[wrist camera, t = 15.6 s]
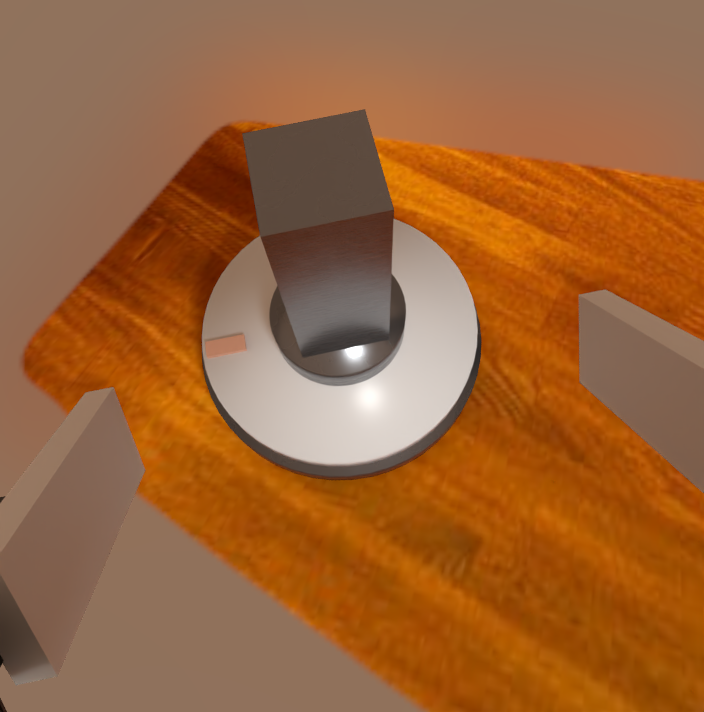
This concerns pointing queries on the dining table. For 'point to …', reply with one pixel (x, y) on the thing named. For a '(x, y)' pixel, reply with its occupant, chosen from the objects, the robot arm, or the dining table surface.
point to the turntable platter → (352, 402)
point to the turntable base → (358, 470)
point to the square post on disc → (328, 247)
